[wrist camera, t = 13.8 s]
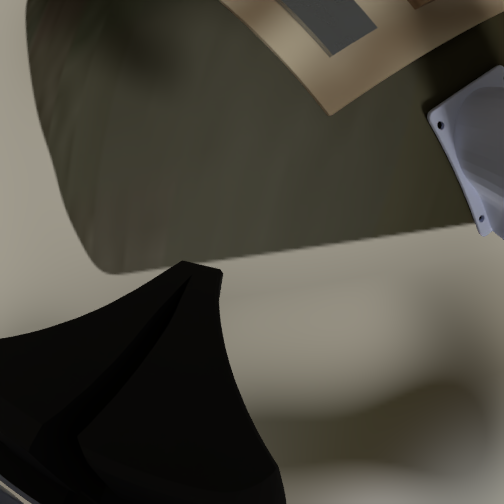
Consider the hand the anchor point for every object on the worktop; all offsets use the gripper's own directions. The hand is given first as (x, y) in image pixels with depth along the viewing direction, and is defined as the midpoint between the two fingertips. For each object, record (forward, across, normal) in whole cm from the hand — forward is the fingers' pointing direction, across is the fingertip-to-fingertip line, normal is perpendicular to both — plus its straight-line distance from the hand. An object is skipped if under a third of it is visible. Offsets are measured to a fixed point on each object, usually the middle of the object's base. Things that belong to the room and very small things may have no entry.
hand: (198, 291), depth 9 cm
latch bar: (+8, -1, -13) cm, 15 cm away
